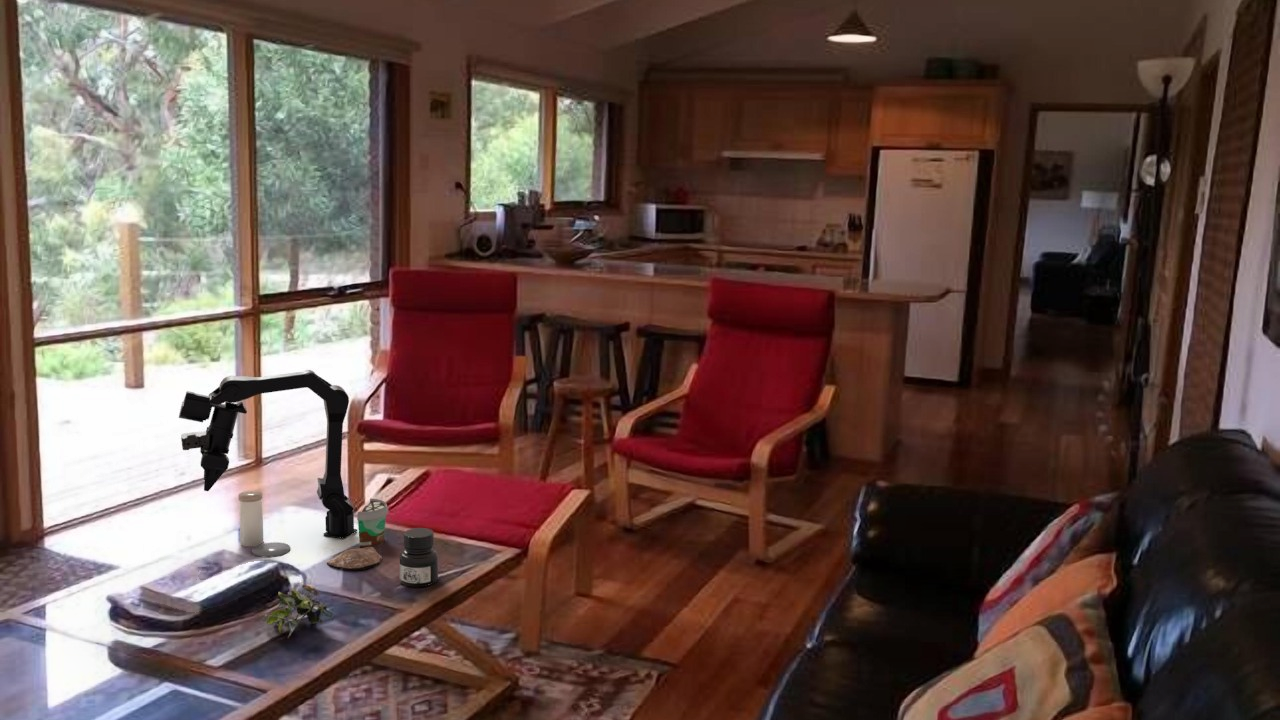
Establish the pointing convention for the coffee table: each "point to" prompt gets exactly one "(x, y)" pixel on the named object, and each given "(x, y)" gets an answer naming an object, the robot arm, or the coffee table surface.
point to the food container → (372, 523)
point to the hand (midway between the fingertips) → (206, 485)
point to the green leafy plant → (298, 608)
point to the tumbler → (251, 518)
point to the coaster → (271, 549)
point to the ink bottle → (418, 558)
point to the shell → (356, 559)
